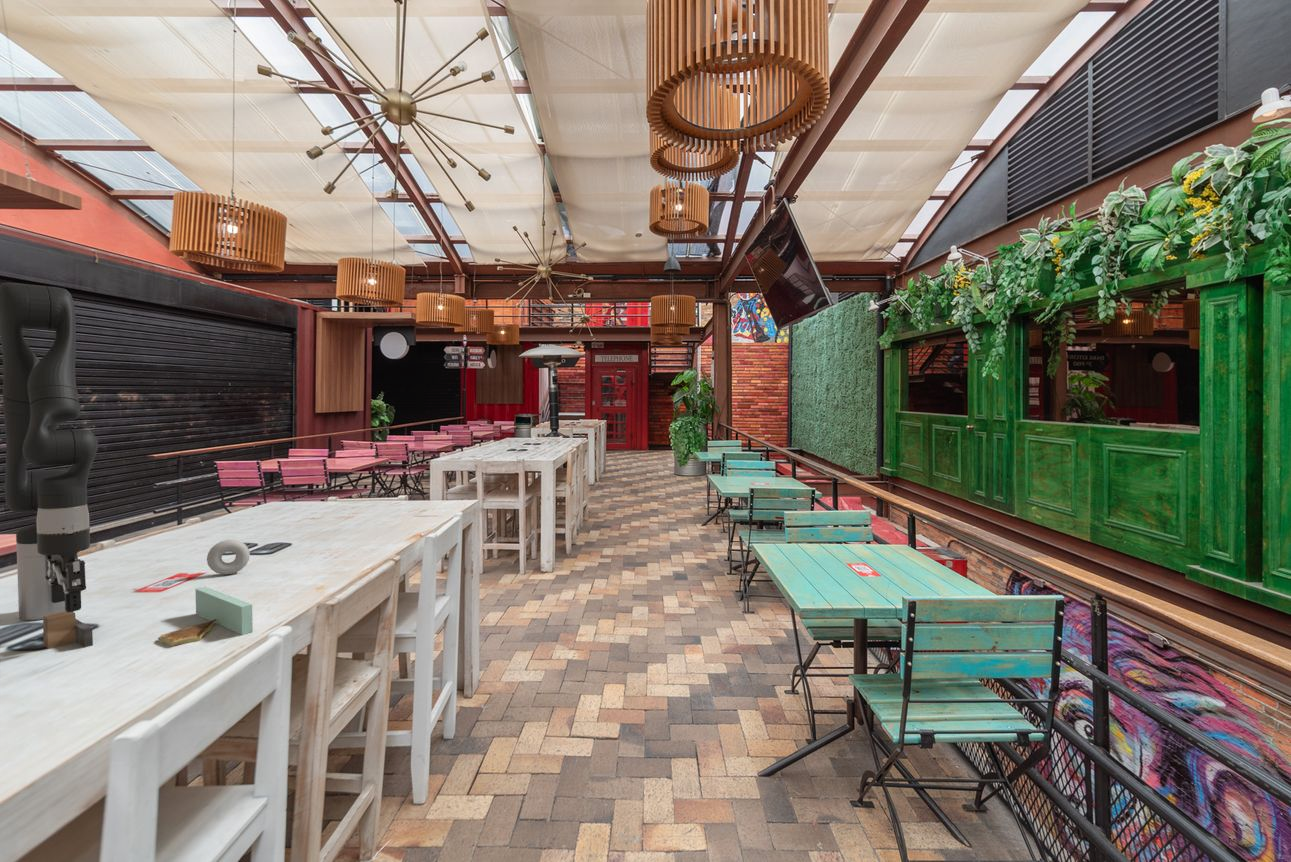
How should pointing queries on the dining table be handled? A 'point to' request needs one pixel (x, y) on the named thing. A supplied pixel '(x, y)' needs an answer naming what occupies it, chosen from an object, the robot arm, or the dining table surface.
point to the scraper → (65, 630)
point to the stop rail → (224, 610)
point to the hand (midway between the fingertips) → (66, 606)
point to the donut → (229, 568)
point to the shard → (186, 634)
